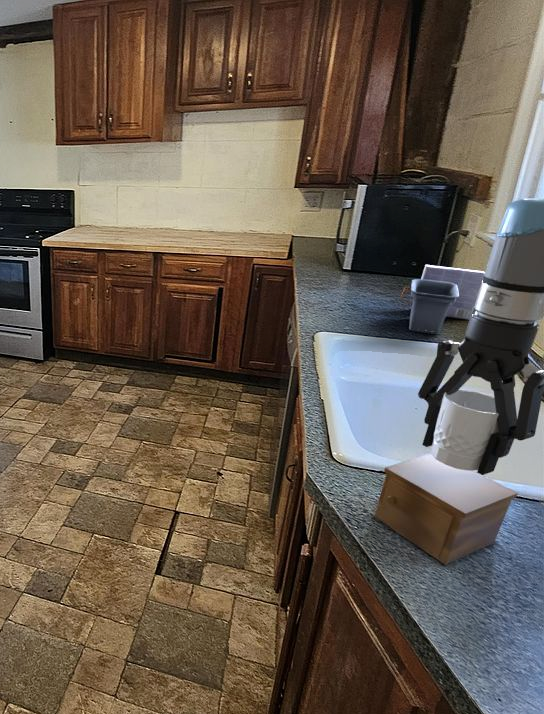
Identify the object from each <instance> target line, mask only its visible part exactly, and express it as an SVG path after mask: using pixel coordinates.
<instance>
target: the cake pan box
mask: <svg viewBox="0 0 544 714" xmlns="http://www.w3.org/2000/svg"><path fill="white" fill-rule="evenodd" d="M484 274H485V271H482V270H474V269H473V270H472V269H464V268H456V267H447V266H440V265H433V264H432V265H430V264H425V265H424V268H423V271H422V275H421V277H420V279H423V280H431V281H440V282H448V283H453V284H456V285H457V287H458V291H459V297H456V301H455V302H454V303H450V306H449V308H448V311H447V314H446V316H445V318H453V319H454V318H455V319H461V320H466V321H467V320H468V321H469V320H470V317H471V314H473V313H474V312H473V311H474V309H475V308H474V305H475V302H476V299H477V296H478V293H479V290H480V287H481V284H482V281H483V278H484Z"/></svg>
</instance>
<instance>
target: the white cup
mask: <svg viewBox="0 0 544 714" xmlns="http://www.w3.org/2000/svg"><path fill="white" fill-rule="evenodd" d="M498 415H499V414H498V413H496V407H495V399H494V396H492V395H489V394H485V393H482V392H478V391H472V390H465V389H459V390H458V391H457V392H455V393H453V394H451V395H447V393H446V392H445V393H444V396H443V400H442V404H441V408H440V412H439V415H438V419H437V423H436V427H435V432H434V440H433V443H432V446H430V447H431V448H430V453H431V454H432V456H433V457H434V458H435V459H436V460H438V461H440V462H442V463H443V464H445V465H448V466H451V467H454V468H457V469H462V470H468V471H472V470H473V471H478V468H479V466H480V463H481V460H482V458H483V455H484V452H485V450H486V447H487V444H488V441H489V439H490V436H491V434H493V433H497V432H498V424H497V417H498Z"/></svg>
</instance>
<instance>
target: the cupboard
mask: <svg viewBox="0 0 544 714" xmlns="http://www.w3.org/2000/svg"><path fill="white" fill-rule="evenodd" d="M383 472H384V473H385V477H384V480H383V484H382V487H381V491H380V495H379V498H378V501H377V506H376V508H375V511H374V515H373V517H374V518H375V519H376V520H378V521H380V522H381V523H383V524H384V525H385V526H387V527H388V528H390V529H391V530H393V531H394V532H396V533H397V534H399V535H401V536H402V537H403V538H405V539H407V540H408V541H409V542H410V543H412V544H413V545H415V546H417V547H418V548H420V549H421V550H422V551H424V552H426V554H428V555H430V556H432V557H433V558H435V560H437V561H439V562H440V563H442V564H443V565H445V566H446V565H449V564H450V563H452V562H455V561H457V560H459V559H461V558H464V557H467V556H469V555H471V554H474V553H475V552H477V551H480V550H481V549H484V548H486V547H488V546H489V547H490V546H491V545H493V544H495V542H496V539H497V536H498V534H499V533H500V529H501V528H502V524H503V522H504V520H505V517H506V515H507V512H508V510H509V507H510V505H511V502H512V500H513V499H516V498H517V496H518V494H519V492H517V491H516V490H513V489H511V488H509V487H507V486H505V485H503V484H501V483H500V482H498V481H496V480H493V479H491V478H490V477H487V476H485V475H481V474H479V473H477V471H476V470H472V471H468V470H462V469H457V468H454V467H451V466H448V465H445V464H443V463H442V462H440V461H438V460H436V459H435V458H434V457H433V456H432V454H431V452H430V453H426V454H423V455H420V456H416V457H414V458H411V459H407V460H405V461H402V462H398V463H395V464H391V465H389V466H385V467H384V470H383Z"/></svg>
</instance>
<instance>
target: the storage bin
mask: <svg viewBox="0 0 544 714" xmlns="http://www.w3.org/2000/svg"><path fill="white" fill-rule="evenodd" d="M405 292H410V297H411V298H413V300H412V305H411V311H410V314H409V315H410V316H409V327H408V329H409V331H412V332H417V333H423V334H430V335H439V334H440V332H441V330H442V326H443V324H444V321H445V319H446V317H445V316H446V314H447V311H448V308H449V306H450V303H454V302H455V301H456V297H459V291H458V287H457V285H456V284H453V283H448V282H440V281H431V280H423V279H421V278H419V279H418V278H417V279H416V278H415V279H412V280H411V284H410V286H405V287H404V288H403V290H402V293H401V296H400V299H401V300H402V299H403V298H404V296H405ZM418 329H419V330H418ZM425 330H427V331H425ZM431 331H434V332H431Z"/></svg>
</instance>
